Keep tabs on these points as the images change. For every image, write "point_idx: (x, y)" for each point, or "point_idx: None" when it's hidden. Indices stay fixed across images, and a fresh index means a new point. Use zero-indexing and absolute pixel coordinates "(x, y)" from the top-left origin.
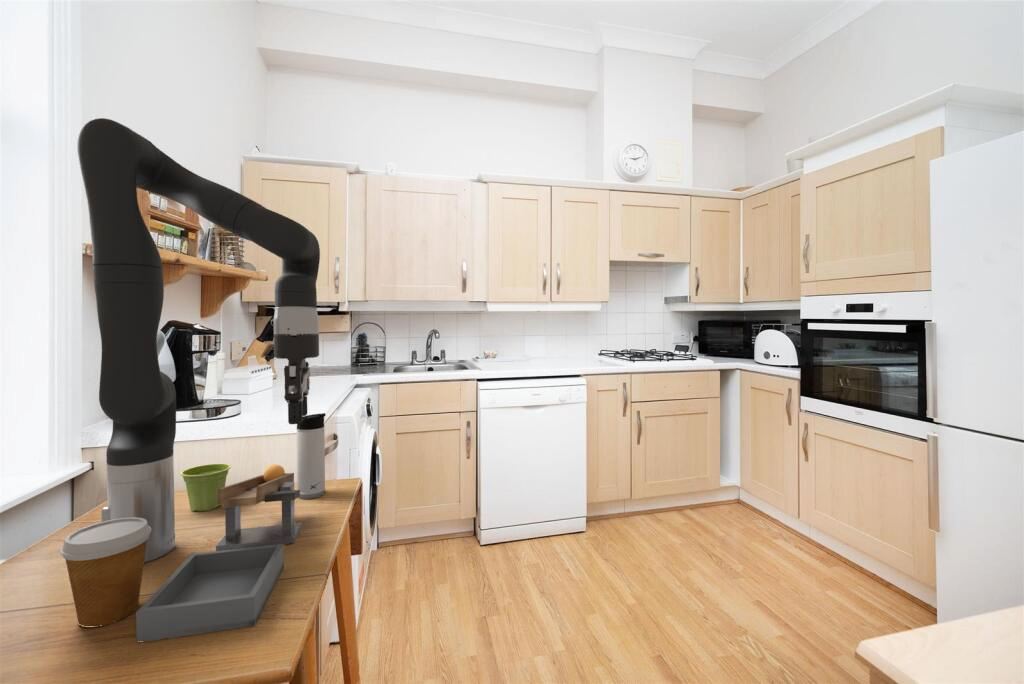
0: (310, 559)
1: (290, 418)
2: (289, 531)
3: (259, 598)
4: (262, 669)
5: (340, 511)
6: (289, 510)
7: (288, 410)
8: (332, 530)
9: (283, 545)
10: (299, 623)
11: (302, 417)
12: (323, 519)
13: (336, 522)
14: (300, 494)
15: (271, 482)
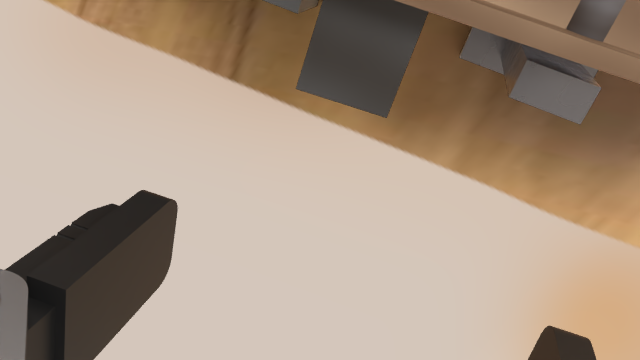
0: None
1: (85, 213)
2: (503, 52)
3: None
4: None
5: (630, 238)
6: (505, 68)
7: (74, 240)
8: (481, 172)
9: (298, 12)
10: (66, 4)
11: (146, 299)
12: (598, 174)
13: (538, 200)
14: None
15: (434, 13)
